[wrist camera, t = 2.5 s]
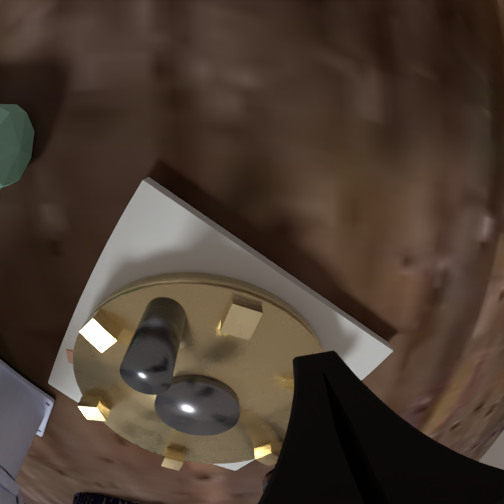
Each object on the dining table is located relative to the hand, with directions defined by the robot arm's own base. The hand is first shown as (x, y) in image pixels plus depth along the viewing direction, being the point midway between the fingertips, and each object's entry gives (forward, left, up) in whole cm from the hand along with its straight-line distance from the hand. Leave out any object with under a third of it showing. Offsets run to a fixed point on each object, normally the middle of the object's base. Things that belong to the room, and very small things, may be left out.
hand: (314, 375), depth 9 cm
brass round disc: (-9, 0, -7) cm, 11 cm away
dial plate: (-9, 0, -8) cm, 12 cm away
